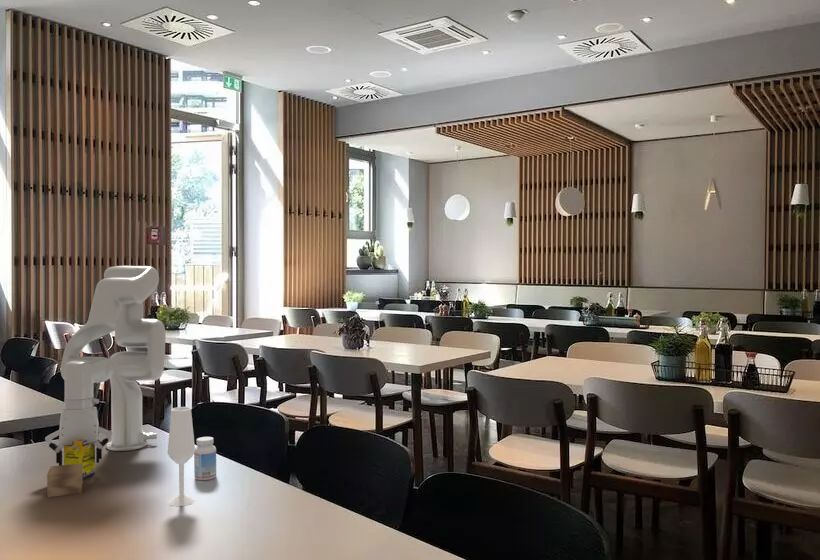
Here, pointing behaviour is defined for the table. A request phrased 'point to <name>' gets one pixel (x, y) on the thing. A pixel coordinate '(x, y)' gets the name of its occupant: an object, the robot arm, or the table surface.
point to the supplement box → (81, 456)
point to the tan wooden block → (64, 480)
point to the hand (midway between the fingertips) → (79, 463)
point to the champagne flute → (181, 448)
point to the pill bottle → (205, 459)
